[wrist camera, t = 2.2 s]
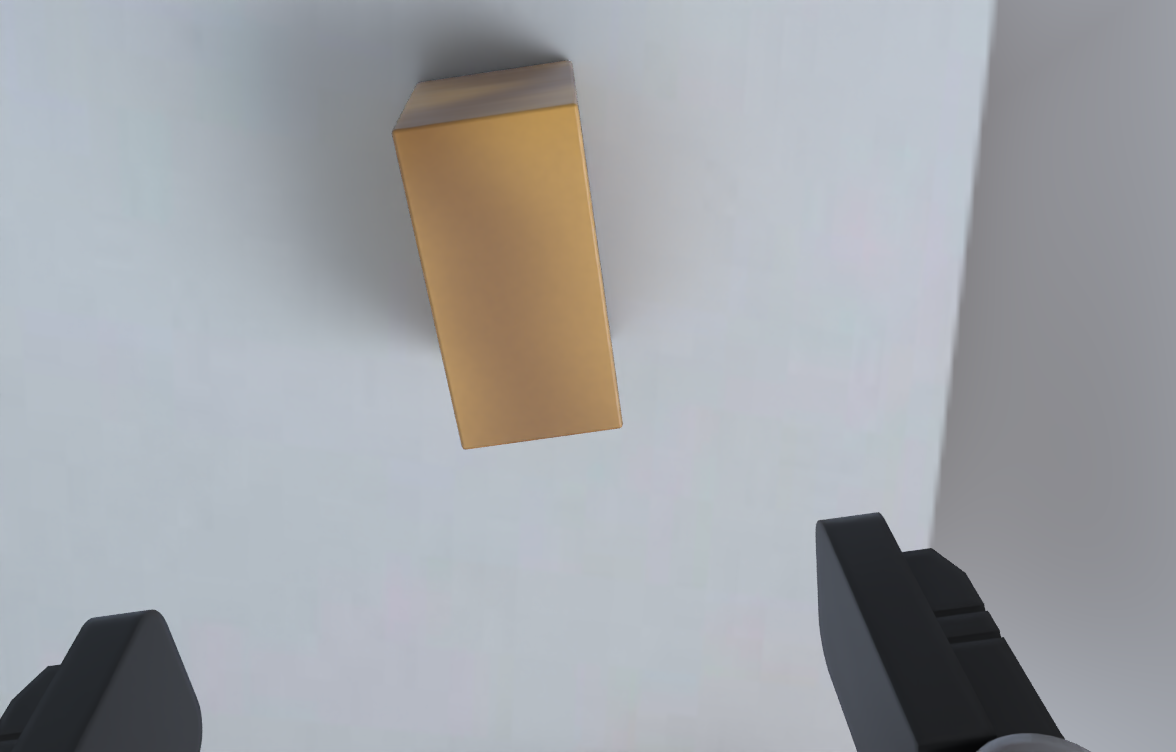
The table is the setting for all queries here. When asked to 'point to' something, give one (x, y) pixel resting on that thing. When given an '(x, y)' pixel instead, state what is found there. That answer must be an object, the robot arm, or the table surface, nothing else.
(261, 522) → the table surface
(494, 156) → the honey block
